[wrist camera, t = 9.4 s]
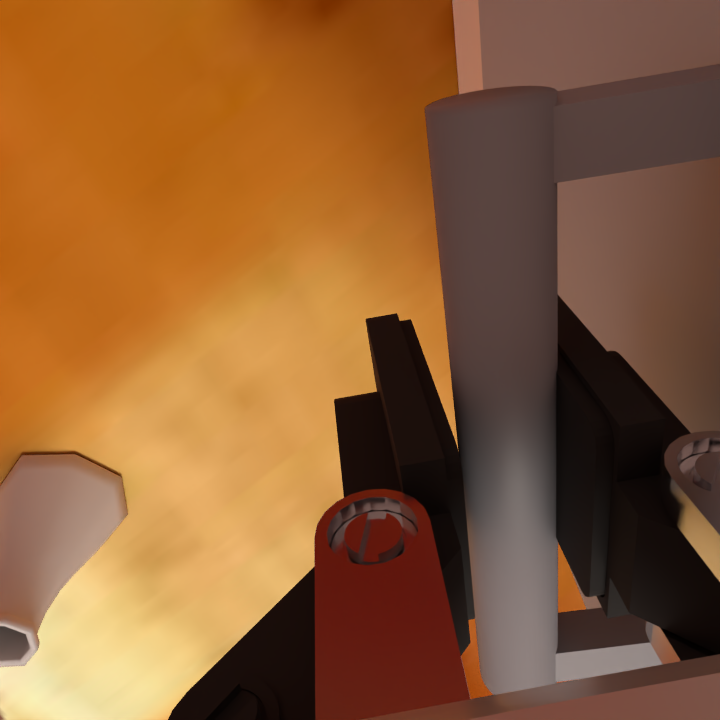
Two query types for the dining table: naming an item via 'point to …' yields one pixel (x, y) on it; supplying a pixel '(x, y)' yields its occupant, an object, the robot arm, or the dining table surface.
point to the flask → (48, 538)
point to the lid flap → (571, 281)
